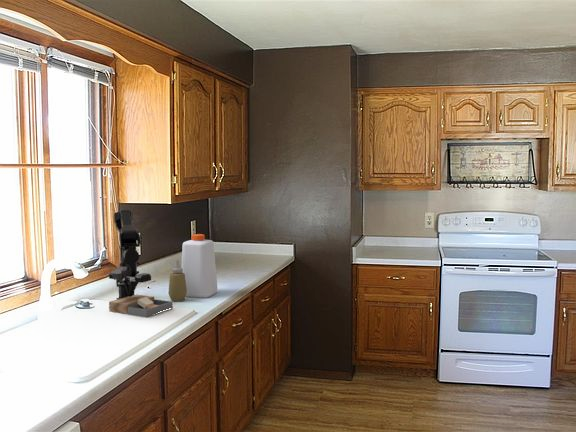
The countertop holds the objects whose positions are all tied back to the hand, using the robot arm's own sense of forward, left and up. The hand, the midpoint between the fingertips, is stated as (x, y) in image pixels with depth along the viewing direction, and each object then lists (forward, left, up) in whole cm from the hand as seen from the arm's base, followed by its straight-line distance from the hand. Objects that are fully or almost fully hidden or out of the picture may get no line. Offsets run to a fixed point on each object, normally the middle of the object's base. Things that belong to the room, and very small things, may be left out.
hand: (130, 296), depth 247 cm
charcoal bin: (+11, 0, -5) cm, 12 cm away
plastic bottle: (+9, +35, -5) cm, 36 cm away
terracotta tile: (+13, 0, -3) cm, 13 cm away
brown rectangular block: (+1, 0, -5) cm, 5 cm away
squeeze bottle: (+8, +21, -5) cm, 23 cm away
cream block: (+8, 0, -3) cm, 9 cm away
